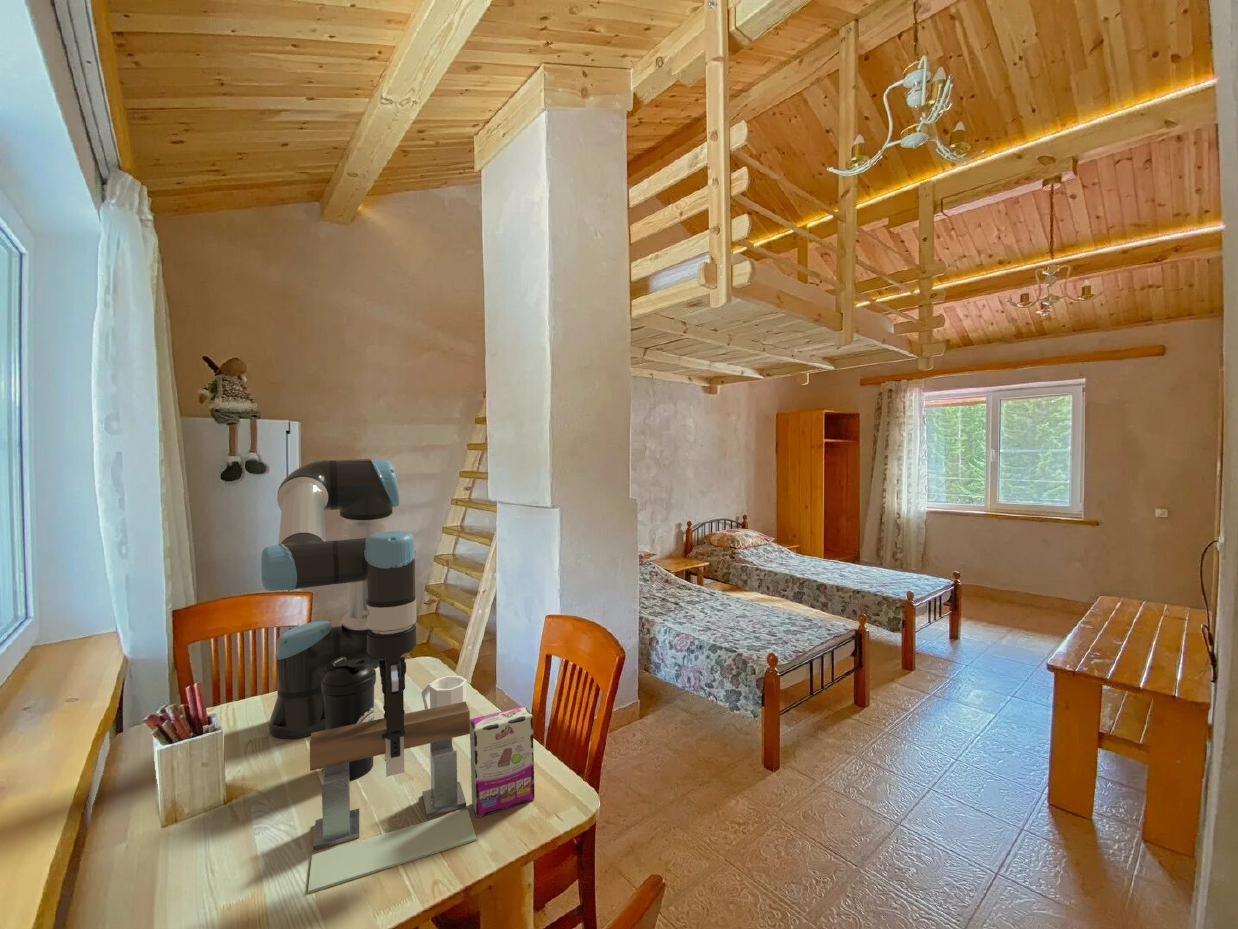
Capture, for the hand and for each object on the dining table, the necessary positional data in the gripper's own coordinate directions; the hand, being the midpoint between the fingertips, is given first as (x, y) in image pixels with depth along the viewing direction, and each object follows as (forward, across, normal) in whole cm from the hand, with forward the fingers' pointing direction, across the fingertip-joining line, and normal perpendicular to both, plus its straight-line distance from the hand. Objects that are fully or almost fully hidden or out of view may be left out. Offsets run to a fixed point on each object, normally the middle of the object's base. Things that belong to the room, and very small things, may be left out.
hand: (394, 765), depth 90 cm
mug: (+14, -40, +13) cm, 45 cm away
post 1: (+14, -9, -9) cm, 19 cm away
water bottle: (+14, -28, -7) cm, 32 cm away
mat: (+14, 0, 0) cm, 14 cm away
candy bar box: (+15, -4, +19) cm, 24 cm away
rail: (-3, 0, 0) cm, 3 cm away
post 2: (+14, -9, +9) cm, 19 cm away
